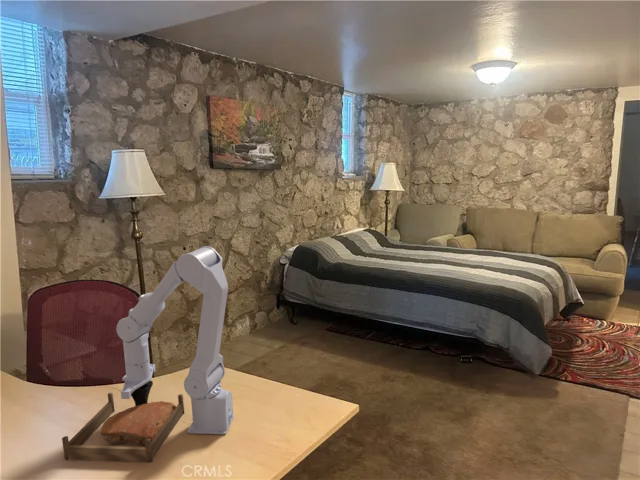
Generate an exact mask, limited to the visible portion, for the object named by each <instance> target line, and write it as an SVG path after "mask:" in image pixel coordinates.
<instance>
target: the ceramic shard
mask: <svg viewBox="0 0 640 480" xmlns="http://www.w3.org/2000/svg"><path fill="white" fill-rule="evenodd" d="M176 407H177V405H175V404H174V403H172V402H168V401H161V400H160V401H153V402H147V404H141V405H137V406H132V407H129V408H126V409H124V410H122V411H119V412H117V413H115V414H114V415H110V416H109V417H108V418H107V419H106V420H105V421H104V422H103V423H102V424H103V425H101V429H100V434H101V436H103V437H104V438H105V439H106V441H107V442H108V444H110V445H116V444H126V443H131V444H133V445H135V446H136V445H141V446H145V440H146V439H151V442H152V440H153V439H154V438H155V436H156V435H157V433H158V432H159V431H160V429H161V428H162V426H163V425H164V424H165V422H166V421H167V419H168V418H169V417H170V415H171V414H172V412H173V411H174V410H175V408H176Z"/></svg>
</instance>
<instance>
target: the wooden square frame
mask: <svg viewBox="0 0 640 480" xmlns="http://www.w3.org/2000/svg"><path fill="white" fill-rule="evenodd" d="M177 399H178V404H177V405H176V408H175V410H174V411H173V412H172V414H171V415H170V417H169V418H168V419H167V421H166V422H165V424H164V425H163V426H162V428H161V429H160V431H159V432H158V433H157V435H156V436H155V438H154V439H153V440H152V442H151V439H146V440H145V445H144V446H145V447H144V446H117V445H115V446H111V445H109V446H108V445H85V442H87V440H88V439H89V438H90V437H91V436H92V435H93V434H94V433H95V432H96V431H97V430H98V429H99V428H100V427H101V426H102V424H104V423H105V421H106V420H107V419H108V418H109V417H111V416H112V414H114V413H115V403H114V393H113V392H109V393H107V400H108V401H107V403H105V404H104V406H103V407H102V408H101V409H100V410H99V411H98V412H97V413H96V414H95V415H94V416H93V417H92V418H91V419H90V420H89V421H88V422H87V423H86V424H85V425H84V426H83V427H81V429H80V430H79V431H78V432H77V433H76V434H75V435H74V436H73V437H72V438H70V440H69V436H68V435H67V436H66V435H65V436H62V438H61V441H62V448H63V456H64V460H65V461H69V460H70V461H71V460H72V461H73V460H78V461H105V462H131V463H132V462H135V463H136V462H137V463H139V462H140V463H148V464H149V463H152V462H153V460H154V458H155V457H156V456H157V453H158V452H159V450H160V449H161V448H162V446H163V445H164V443H165V442H166V441H167V439H168V437H169V435H170V434H171V432H173V430H174V428H175V426H176V425H177V424H178V422H179V421H180V419H181V417H182V416H183V415H184V414H185V405H184V404H185V403H184V394H182V393H179V394H178V395H177Z"/></svg>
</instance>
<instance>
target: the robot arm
mask: <svg viewBox="0 0 640 480" xmlns="http://www.w3.org/2000/svg"><path fill="white" fill-rule="evenodd" d="M183 282H186V283H187V284H189V285H190V286H192V287H194V288H195V289H196V290H198V291H199V292H200V293H202V295H203V296H202V305H201V310H200V311H201V312H200V320H199V327H198V334H197V335H198V336H197V343H196V352H195V357H194V359H193V361H192V363H191V365H190V366H189V370H188V374H187V376H186V377H185V379H184V381H183V387H184V391H185V393H186V394H187V395H188V396H189V398H190V401H191V412H192V413H191V414H192V423H191V424H190V426H189V428H188V429H187V431H186V432H187V434H197V435H198V434H200V435H203V434H204V435H226V434H227V432H229V431H228V430H229V428H230V426H231V425H232V422H233V420H234V418H235V414H234V407H233V393H232V391H230V390H226V389H223V388H222V380H223V379H224V377H225V375H226V371H225V370H226V369H225V366H224V356H223V355H222V354H221V353H220V350H221V342H222V336H223V329H224V321H225V315H226V307H227V306H226V305H227V300H228V293H229V284H228V281H227V277H226V274H225V271H224V269H223V257H222V256H221V255H220V254H219V253H218V252H217V250H216V249H215V248H213V247H212V246H208V245H204V246H201V247H199V248H197V249H195V250H193V251H190V252H188V253H184V254H182V255H180V256H179V257H178V258H177V260H176V261H174V262H173V263H172V264H171V266H170V268H169V269H168V271H167V272H166V273H165V275H163V278H162V279H161V280H160V282H159V283H158V284H157V286H156V288H155V289H154V290H153V292H146V293H145V294H141V295H140V296H139V297H138V298H137V300H138V303H137V304H136V305H135V306H134V307H133V308H131V309H129V310H128V316H126V317H124V318H121V319H119V320H118V323H117V325H116V327H115V328H116V333H117V336H118V337H119V339H120V340H122V345H123V354H124V365H125V375H124V376H123V377H122V381H124V384H123V388H122V390H121V391H120V399H121V400H124V399H125V400H130V399H131V398H132V400H133V401H134V405H135V406H137V405H141V404H147V403H149V402H148V400H149V395H150V393H151V389H152V387H153V384H154V383H153V381H152V378H153V374H154V373H155V372H156V364H155V363H151V362H150V359H151V358H150V350H149V339H148V338H150V335H149V332H150V331H151V330H152V326H153V323H154V321H155V320H156V319H157V318H158V317H159V316H160V315H161V314H162V313H163V311H164V310H165V308H166V303H165V300H166V299H168V297H169V296H170V295H172V293H173V292H174V291H175V290H176V289H177V287H179V285H180V284H181V283H183Z"/></svg>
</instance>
